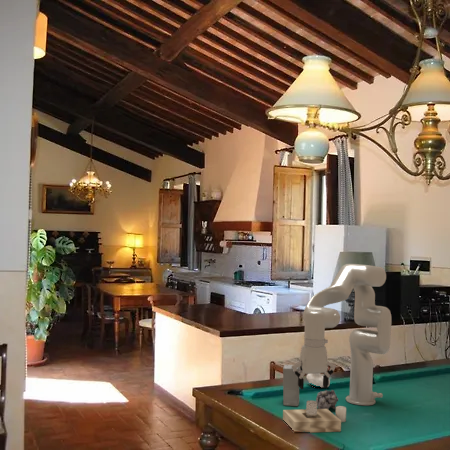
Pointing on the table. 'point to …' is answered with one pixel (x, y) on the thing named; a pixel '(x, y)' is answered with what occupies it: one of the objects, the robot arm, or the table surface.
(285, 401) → the skincare box
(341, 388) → the table surface
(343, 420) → the short white pin
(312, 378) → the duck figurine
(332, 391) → the mineral specimen
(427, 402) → the table surface
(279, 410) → the table surface
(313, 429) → the hole slab
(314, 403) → the grey beige post
